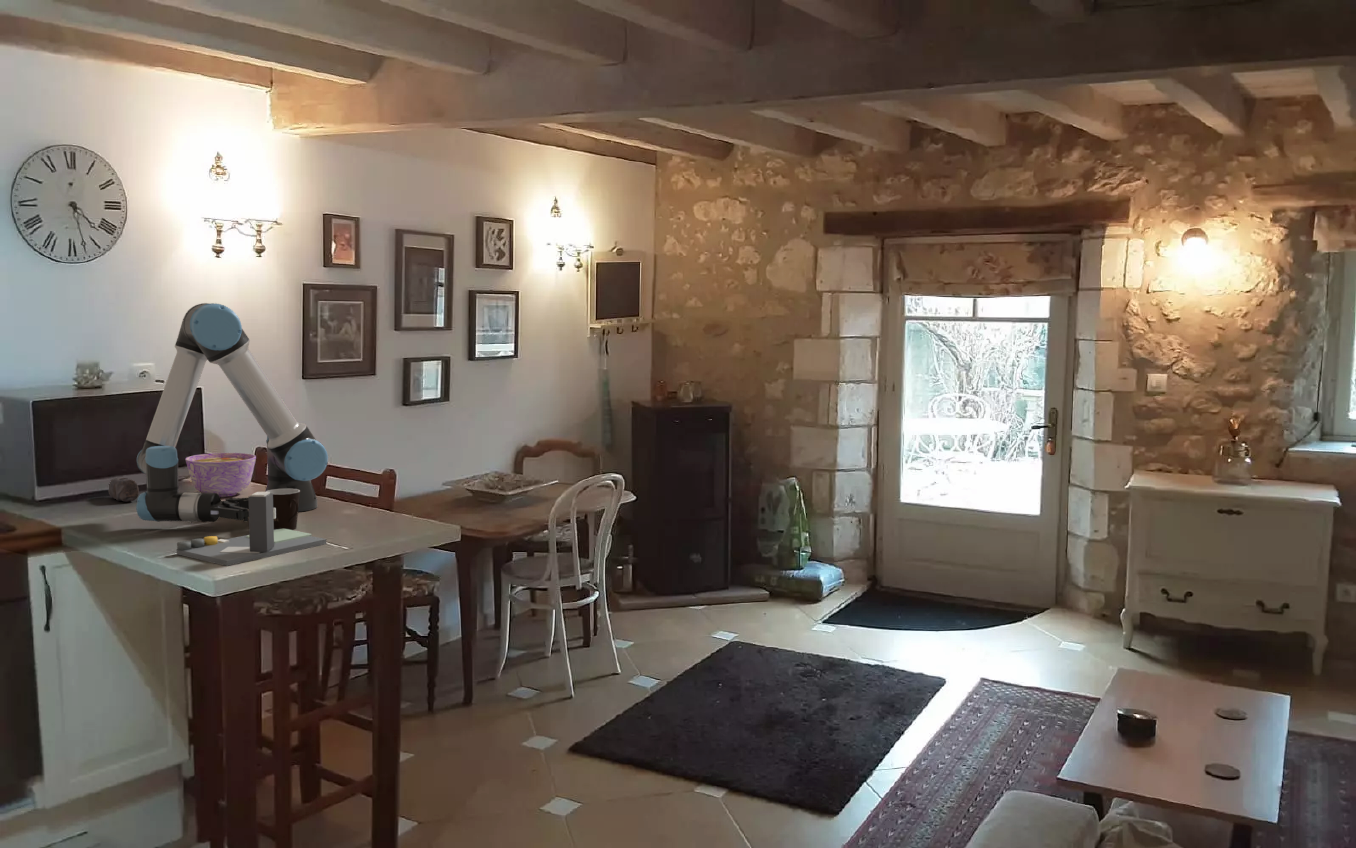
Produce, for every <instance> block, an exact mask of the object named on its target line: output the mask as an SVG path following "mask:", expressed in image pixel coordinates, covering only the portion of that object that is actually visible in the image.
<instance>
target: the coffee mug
mask: <svg viewBox="0 0 1356 848" xmlns="http://www.w3.org/2000/svg"><path fill="white" fill-rule="evenodd" d="M266 492H270V493H273V508H276V519H273V521H274V530H276V529H283V528H284V529H289V530H294V531H296V530H297V524H298V515H299V512H298V506H299V496H300V490H298V489H273V490H268V491H266Z"/></svg>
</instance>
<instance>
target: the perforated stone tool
mask: <svg viewBox="0 0 1356 848" xmlns="http://www.w3.org/2000/svg"><path fill="white" fill-rule="evenodd" d="M110 481H111V482H110ZM110 481H109V483H110V484H109V483H108V485H109V490H108V489H107V491H108V495H109V496H110V498H112V499H114V500H115V499H116V501H118V502H124V503H129V502H133V501H137V499H138V497H139V495H140V494H139V493H140V492H139V491H140V490H139V486H138V483H137V482H136V481H135V480H133V479H131V478H128V477H115V478H112V479H111V480H110Z"/></svg>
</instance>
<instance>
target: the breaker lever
mask: <svg viewBox="0 0 1356 848" xmlns="http://www.w3.org/2000/svg"><path fill="white" fill-rule="evenodd" d="M247 498H248V500H249V509H248V510H249V517H248V527H249V528H248V531H249V532H248V533H249V534H248V535H249V538H250V552H267V551H269V550H270V549H272V548H273V547H274V521H273V493H270V492H265V491H256V492H254V493H251V495H249V496H248V497H247Z"/></svg>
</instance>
